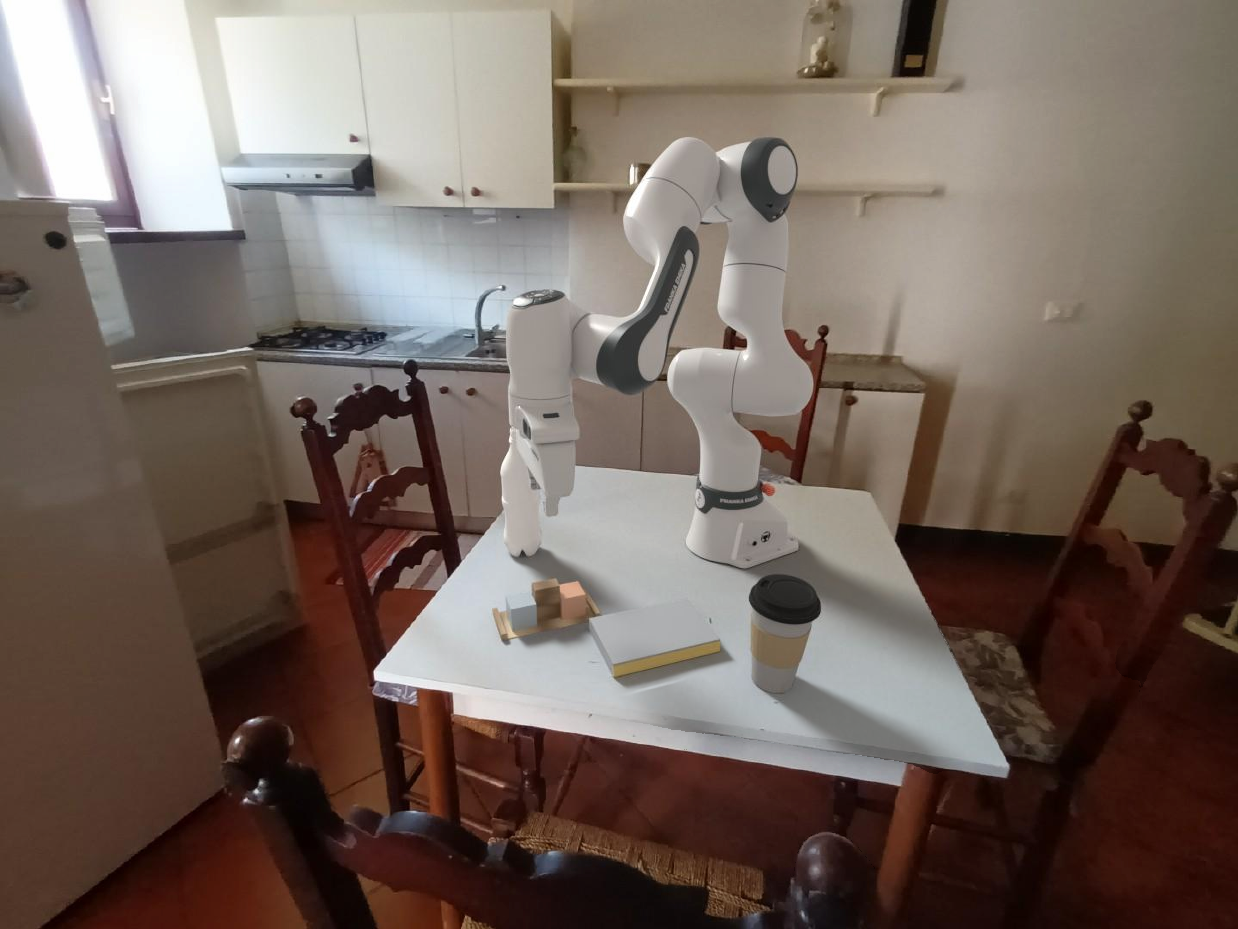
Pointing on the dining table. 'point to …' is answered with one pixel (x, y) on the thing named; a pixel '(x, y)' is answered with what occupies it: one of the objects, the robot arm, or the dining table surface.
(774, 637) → the coffee cup
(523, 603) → the block
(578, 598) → the block
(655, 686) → the dining table surface
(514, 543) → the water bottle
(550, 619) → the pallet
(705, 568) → the dining table surface
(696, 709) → the dining table surface
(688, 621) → the dock
